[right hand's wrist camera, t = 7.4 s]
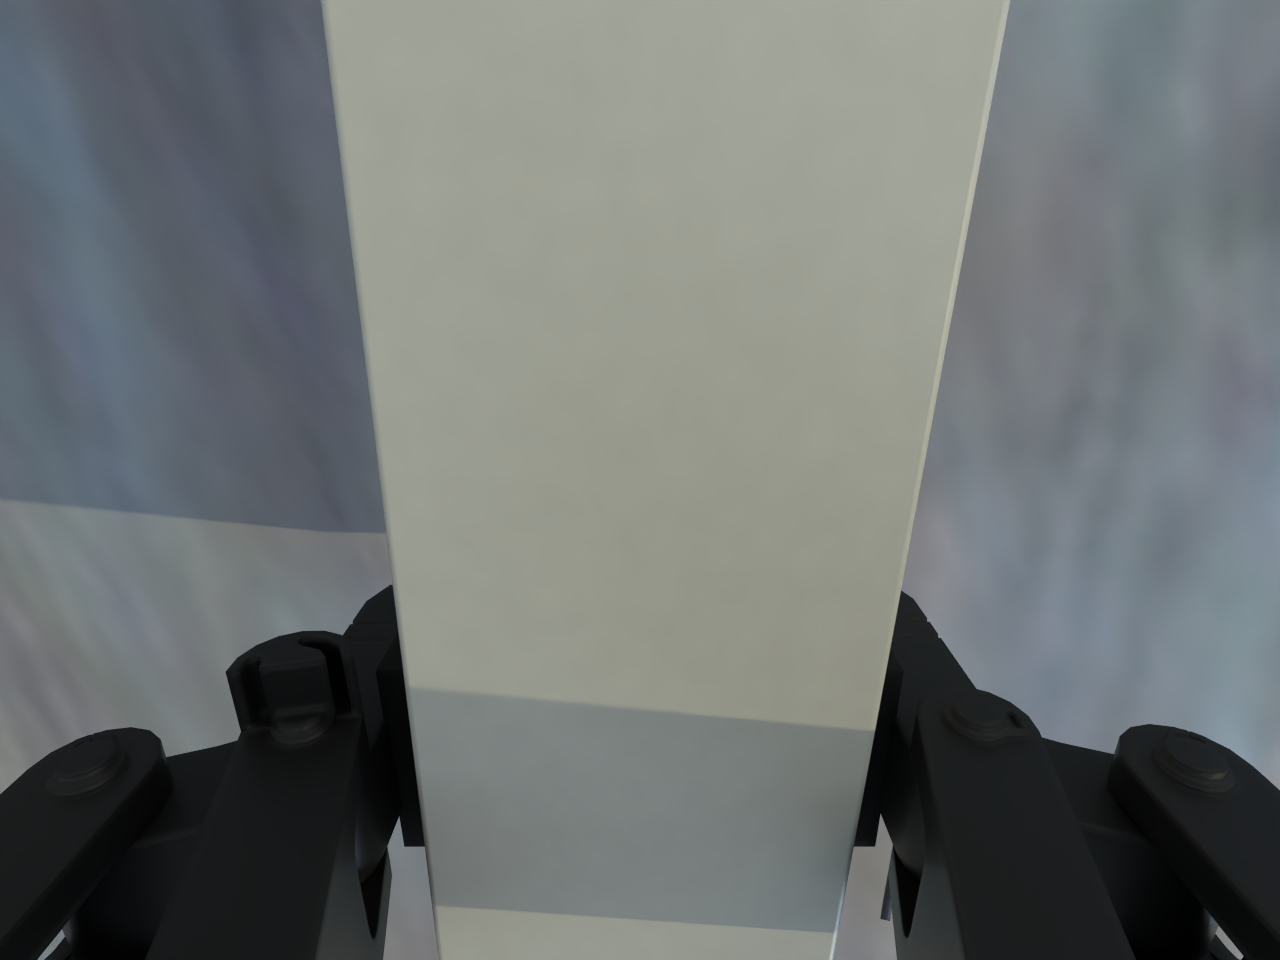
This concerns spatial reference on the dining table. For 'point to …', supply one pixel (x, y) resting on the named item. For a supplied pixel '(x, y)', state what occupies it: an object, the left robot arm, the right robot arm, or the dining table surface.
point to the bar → (651, 436)
